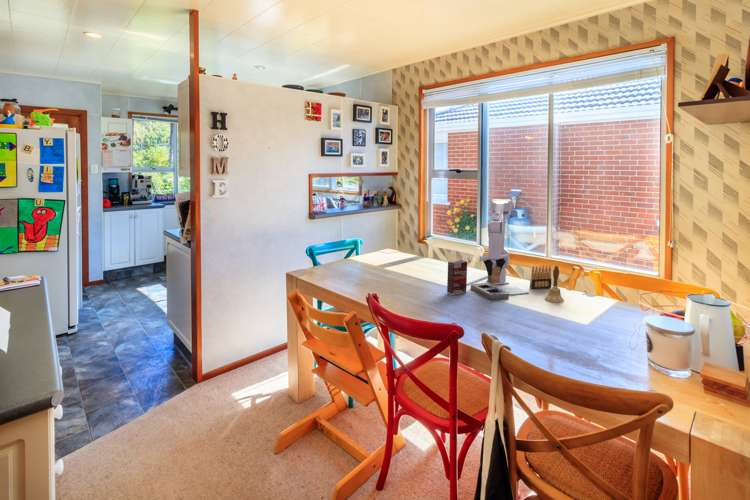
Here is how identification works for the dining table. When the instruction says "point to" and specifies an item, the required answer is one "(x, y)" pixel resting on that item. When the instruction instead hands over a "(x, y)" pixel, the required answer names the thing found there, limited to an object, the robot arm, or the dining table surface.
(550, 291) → the hand bell
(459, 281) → the supplement box
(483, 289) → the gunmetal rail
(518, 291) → the blue-grey board
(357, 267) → the dining table surface
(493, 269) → the walnut peg
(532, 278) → the ammunition clip
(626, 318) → the dining table surface
